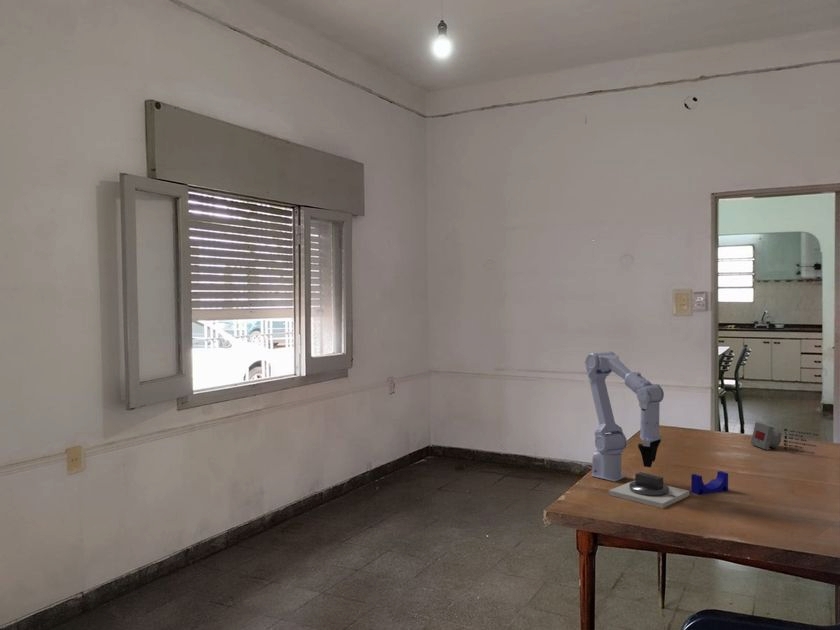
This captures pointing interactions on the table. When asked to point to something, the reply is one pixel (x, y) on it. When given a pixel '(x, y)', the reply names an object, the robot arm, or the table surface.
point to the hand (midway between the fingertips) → (649, 463)
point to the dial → (648, 485)
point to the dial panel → (649, 496)
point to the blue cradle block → (709, 484)
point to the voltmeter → (771, 437)
